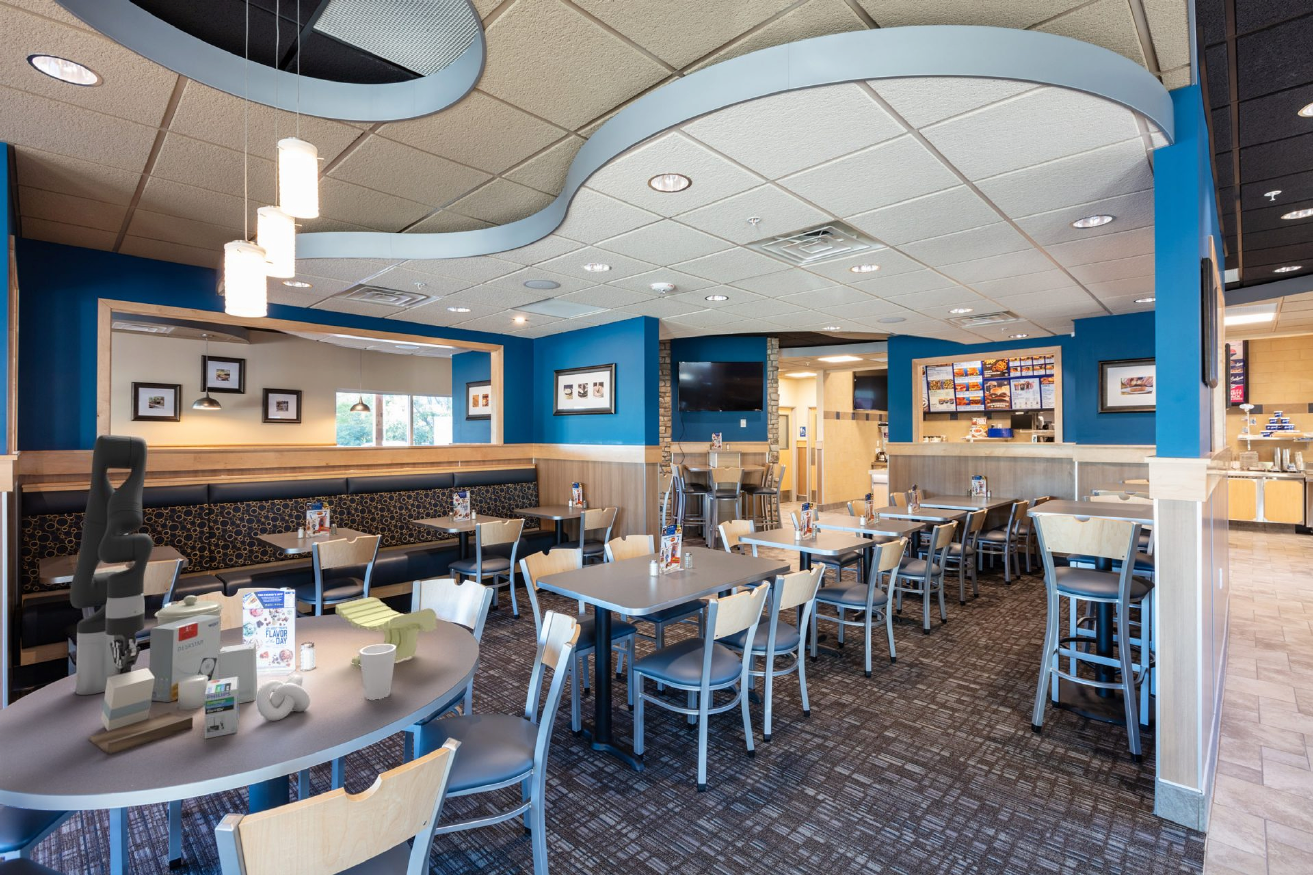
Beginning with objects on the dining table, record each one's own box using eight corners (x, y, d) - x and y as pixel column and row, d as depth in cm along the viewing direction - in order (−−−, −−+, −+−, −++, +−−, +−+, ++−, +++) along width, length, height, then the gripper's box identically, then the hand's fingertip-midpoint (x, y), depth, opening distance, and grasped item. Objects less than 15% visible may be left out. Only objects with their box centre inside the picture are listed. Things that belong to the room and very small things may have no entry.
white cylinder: (173, 706, 166) (174, 680, 166) (201, 698, 171) (201, 673, 171) (183, 712, 163) (184, 685, 163) (211, 703, 168) (212, 677, 168)
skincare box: (257, 694, 174) (258, 641, 175) (254, 702, 169) (254, 647, 169) (221, 699, 171) (222, 645, 171) (217, 707, 165) (218, 651, 166)
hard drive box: (169, 703, 168) (171, 629, 168) (147, 701, 170) (148, 628, 170) (220, 682, 183) (221, 614, 184) (199, 680, 185) (200, 613, 185)
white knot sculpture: (262, 708, 165) (262, 674, 165) (313, 701, 170) (313, 668, 170) (253, 725, 155) (254, 689, 155) (308, 717, 159) (308, 682, 159)
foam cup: (403, 692, 176) (403, 646, 176) (375, 704, 167) (376, 656, 168) (379, 686, 180) (379, 642, 180) (351, 698, 171) (352, 651, 172)
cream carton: (100, 719, 154) (107, 677, 152) (141, 708, 161) (147, 667, 159) (107, 731, 151) (114, 688, 150) (148, 719, 158) (155, 677, 156)
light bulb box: (237, 733, 151) (238, 688, 151) (203, 739, 147) (204, 694, 147) (238, 716, 160) (239, 675, 160) (206, 723, 156) (207, 680, 156)
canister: (148, 660, 202) (149, 596, 202) (214, 647, 216) (214, 586, 216) (161, 673, 190) (162, 605, 190) (230, 658, 204) (231, 594, 204)
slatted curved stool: (436, 660, 202) (436, 606, 203) (393, 675, 189) (393, 617, 189) (378, 645, 218) (378, 594, 218) (335, 658, 204) (335, 604, 204)
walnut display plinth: (88, 739, 147) (88, 728, 147) (169, 714, 161) (169, 704, 161) (109, 754, 140) (109, 743, 140) (192, 727, 153) (192, 717, 153)
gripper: (153, 613, 157) (153, 682, 156) (133, 606, 164) (132, 672, 163) (116, 620, 150) (115, 691, 150) (97, 612, 157) (96, 681, 157)
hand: (124, 681), depth 157 cm, fingers closed
